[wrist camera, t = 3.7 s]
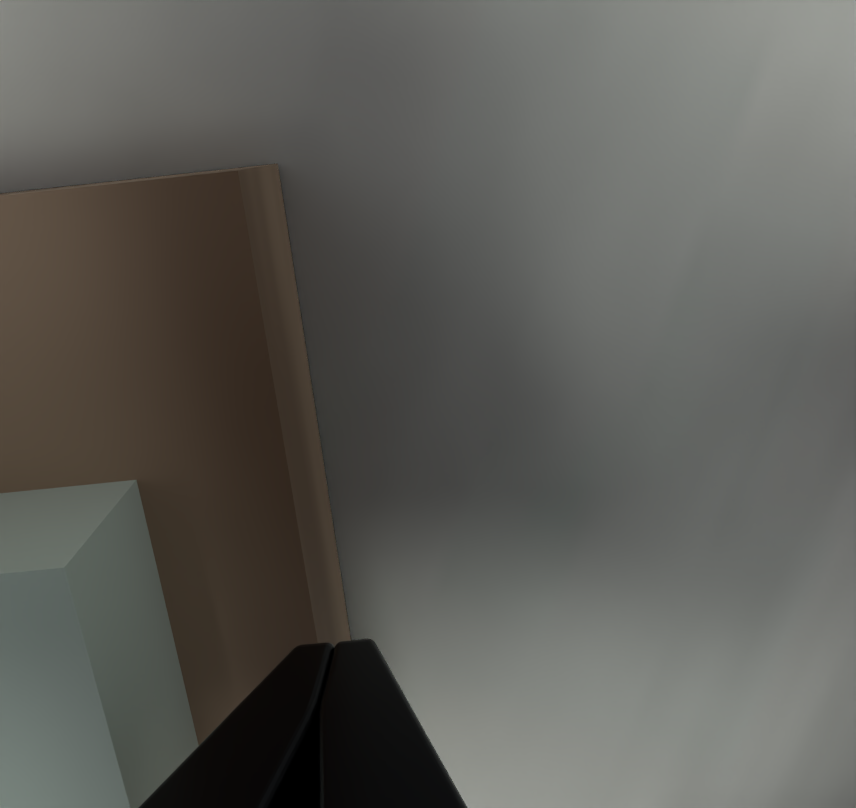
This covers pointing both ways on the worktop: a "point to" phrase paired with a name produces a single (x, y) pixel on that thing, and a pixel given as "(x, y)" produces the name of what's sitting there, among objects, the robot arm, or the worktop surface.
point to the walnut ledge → (178, 404)
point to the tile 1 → (85, 653)
